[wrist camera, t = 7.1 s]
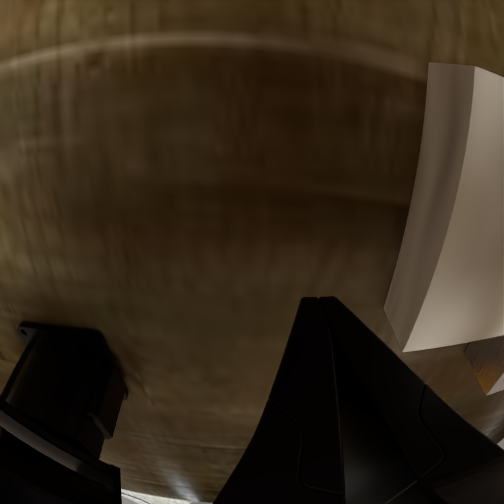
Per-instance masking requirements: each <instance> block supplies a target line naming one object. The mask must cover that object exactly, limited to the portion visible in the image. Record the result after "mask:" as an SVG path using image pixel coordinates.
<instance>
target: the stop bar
mask: <svg viewBox="0 0 504 504" xmlns="http://www.w3.org/2000/svg"><path fill="white" fill-rule="evenodd" d="M464 353H465V355H466V357H467V359H468V360H469V362H470V364H471V366H472V368H473V370H474V372H475V374H476V376H477V378H478V380H479V382H480V384H481V386H482V388H483V390H484V392H485V394H486V395H489V394H492V393H495V392H498V391H501V390H504V335H502V336H497V337H492V338H487V339H482V340H477V341H472V342H470V343H469V345H468V346H467V348H466V350H465V352H464Z"/></svg>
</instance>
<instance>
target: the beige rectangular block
mask: <svg viewBox="0 0 504 504" xmlns="http://www.w3.org/2000/svg"><path fill="white" fill-rule="evenodd" d="M383 309H384V311H385V313H386V315H387V317H388V320H389V322H390V324H391V326H392V329H393V331H394V333H395V336H396V338H397V340H398V343H399V345H400V347H401V350H402V352H408V351H416V350H423V349H430V348H437V347H443V346H449V345H455V344H461V343H467V342H472V341H477V340H482V339H487V338H492V337H497V336H502V335H504V77H502V76H499V75H497V74H494V73H492V72H489V71H487V70H484V69H482V68H479V67H476V66H470V65H460V64H449V63H434V62H428V79H427V93H426V104H425V114H424V123H423V132H422V139H421V147H420V153H419V160H418V166H417V172H416V178H415V184H414V189H413V194H412V199H411V204H410V209H409V214H408V218H407V223H406V227H405V232H404V236H403V240H402V244H401V248H400V252H399V256H398V260H397V264H396V267H395V271H394V275H393V278H392V282H391V285H390V288H389V292H388V295H387V298H386V302H385V305H384V308H383Z"/></svg>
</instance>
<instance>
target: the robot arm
mask: <svg viewBox="0 0 504 504" xmlns="http://www.w3.org/2000/svg"><path fill="white" fill-rule="evenodd" d="M18 331H19V333H20V335H21V337H22V339H23V340H24V342H25V344H26V346H27V347H26V348H25V350H24V352H23V354H22V356H21V357H20V359H19V361H18V363H17V365H16V366H15V368H14V370H13V372H12V374H11V376H10V378H9V380H8V382H7V384H6V386H5V388H4V390H3V392H2V394H1V396H0V504H122V500H121V478H120V468H118V467H116V466H114V465H109V464H107V463H105V462H103V461H101V460H99V458H100V454H101V450H102V446H103V443H104V439H106V440H110V439H111V438H112V437H113V433H114V429H115V426H116V422H117V418H118V414H119V411H120V407H121V404H122V400H127V397H128V391H127V389H126V386H125V384H124V382H123V380H122V378H121V376H120V374H119V371H118V369H117V367H116V365H115V364H114V362H113V359H112V357H111V355H110V353H109V350H108V348H107V346H106V343H105V341H104V339H103V337H102V335H101V334H99V333H98V332H95V331H89V330H79V329H70V328H61V327H53V326H45V325H38V324H31V323H24V322H22V323H21V324H20V325H19V327H18ZM424 384H425V382H424V381H423V380H422V379H421V378H420V377H419V376H418V375H417V374H416V373H415V372H414V371H413V370H412V369H411V368H410V367H409V366H408V365H407V364H406V363H405V362H404V361H403V360H402V359H401V358H400V357H399V356H397V355H396V354H395V353H394V352H393V351H392V350H391V349H390V348H389V347H388V346H387V345H386V344H385V343H384V342H383V341H382V340H381V339H380V338H379V337H378V336H377V335H376V334H374V333H373V332H372V331H371V330H370V329H369V328H368V327H367V326H366V325H365V324H364V323H363V322H362V321H361V320H360V319H359V318H358V317H357V316H355V315H354V314H353V313H352V312H351V311H350V310H349V309H348V308H347V307H346V306H345V305H344V304H343V303H342V302H341V301H339V300H338V299H337V298H336V297H334V296H328V297H320V298H319V299H318V298H317V297H303V298H302V299H301V301H300V304H299V307H298V310H297V314H296V317H295V320H294V323H293V326H292V330H291V333H290V336H289V339H288V342H287V345H286V348H285V351H284V354H283V357H282V360H281V363H280V366H279V369H278V372H277V375H276V378H275V381H274V384H273V386H272V389H271V392H270V395H269V398H268V401H267V403H266V406H265V408H264V411H263V414H262V416H261V419H260V421H259V424H258V426H257V428H256V431H255V433H254V435H253V437H252V439H251V441H250V443H249V445H248V447H247V448H246V450H245V452H244V454H243V456H242V458H241V459H240V461H239V463H238V464H237V466H236V467H235V469H234V471H233V472H232V474H231V476H230V477H229V479H228V480H227V482H226V484H225V485H224V487H223V488H222V490H221V491H220V493H219V495H218V496H217V498H216V499H215V501H214V502H213V504H504V450H503V449H502V448H501V447H499V446H498V445H497V444H496V443H494V442H493V441H492V440H491V439H489V438H488V437H487V436H486V435H484V434H483V433H482V432H481V431H479V430H478V429H477V428H476V427H474V426H473V425H472V424H471V423H469V422H468V421H467V420H466V419H465V418H463V417H462V416H461V415H460V414H459V413H458V412H456V411H455V410H454V409H453V408H452V407H451V406H450V405H448V404H447V403H446V402H445V401H444V400H443V399H442V398H441V397H440V396H439V395H438V394H437V393H436V392H435V391H434V390H433V389H432V388H431V387H430V386H429V385H428V384H425V385H424Z"/></svg>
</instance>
